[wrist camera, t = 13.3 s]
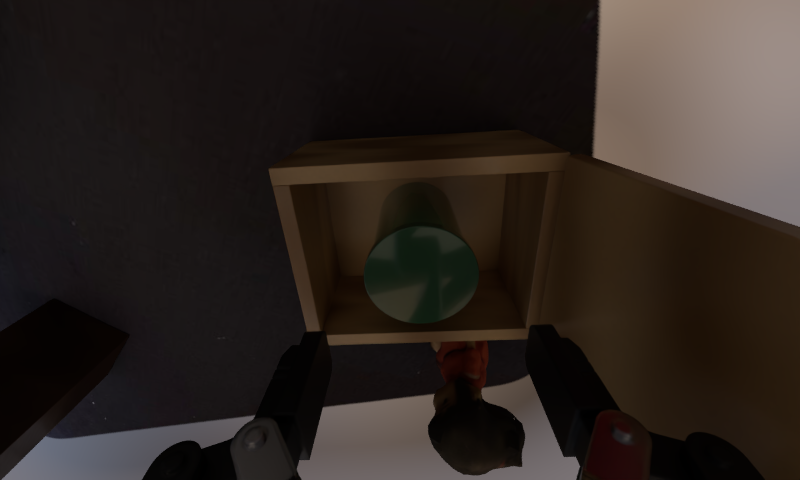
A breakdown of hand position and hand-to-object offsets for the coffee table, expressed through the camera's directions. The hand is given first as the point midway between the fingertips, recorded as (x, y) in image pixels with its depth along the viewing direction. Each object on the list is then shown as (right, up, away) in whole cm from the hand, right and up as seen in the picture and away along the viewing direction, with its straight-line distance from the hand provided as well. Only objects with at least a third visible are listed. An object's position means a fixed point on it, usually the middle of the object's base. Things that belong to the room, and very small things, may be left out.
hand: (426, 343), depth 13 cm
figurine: (+4, -4, +18) cm, 19 cm away
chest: (0, +6, +13) cm, 14 cm away
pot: (0, +6, +12) cm, 13 cm away
